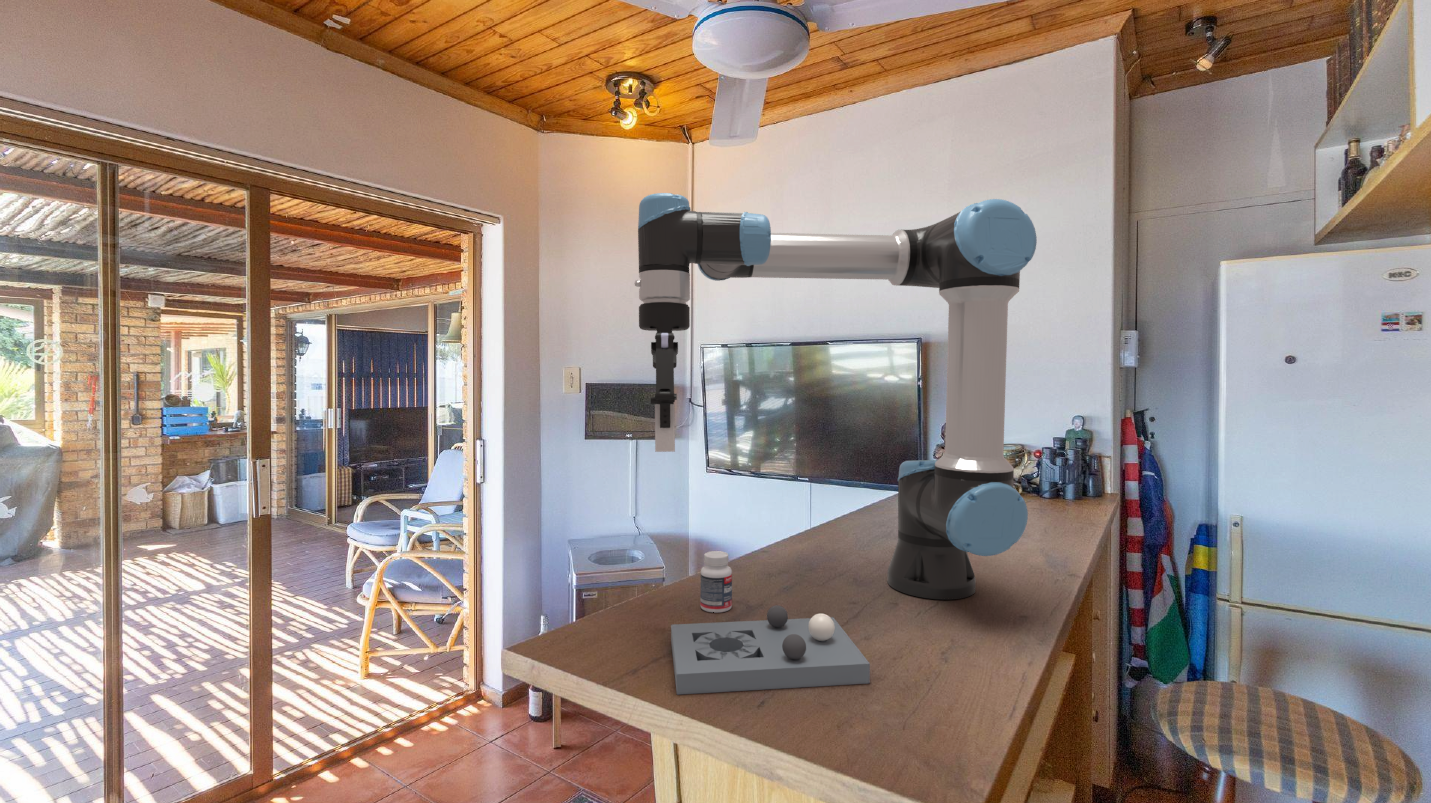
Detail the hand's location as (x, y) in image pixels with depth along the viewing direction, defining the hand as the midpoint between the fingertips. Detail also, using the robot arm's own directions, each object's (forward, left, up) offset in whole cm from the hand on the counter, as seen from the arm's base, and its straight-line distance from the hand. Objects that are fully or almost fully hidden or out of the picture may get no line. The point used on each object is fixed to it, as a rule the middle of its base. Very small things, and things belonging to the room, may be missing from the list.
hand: (665, 446), depth 94 cm
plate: (-13, +13, -28) cm, 33 cm away
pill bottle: (-9, -7, -28) cm, 30 cm away
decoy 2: (-16, +18, -24) cm, 33 cm away
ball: (-21, +13, -23) cm, 34 cm away
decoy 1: (-16, +8, -24) cm, 29 cm away
